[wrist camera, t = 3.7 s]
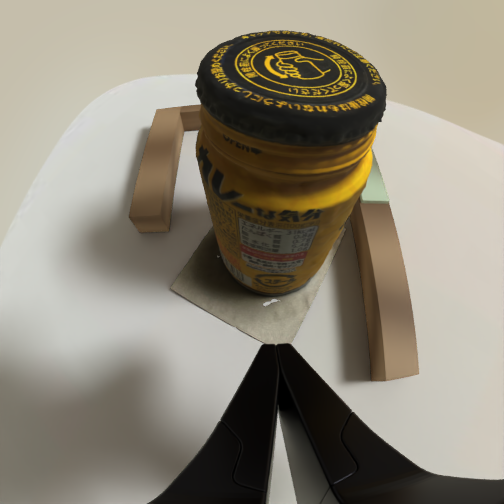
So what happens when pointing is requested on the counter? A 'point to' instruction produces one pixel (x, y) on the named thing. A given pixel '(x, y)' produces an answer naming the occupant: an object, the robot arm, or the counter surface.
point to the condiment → (278, 173)
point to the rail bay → (364, 229)
